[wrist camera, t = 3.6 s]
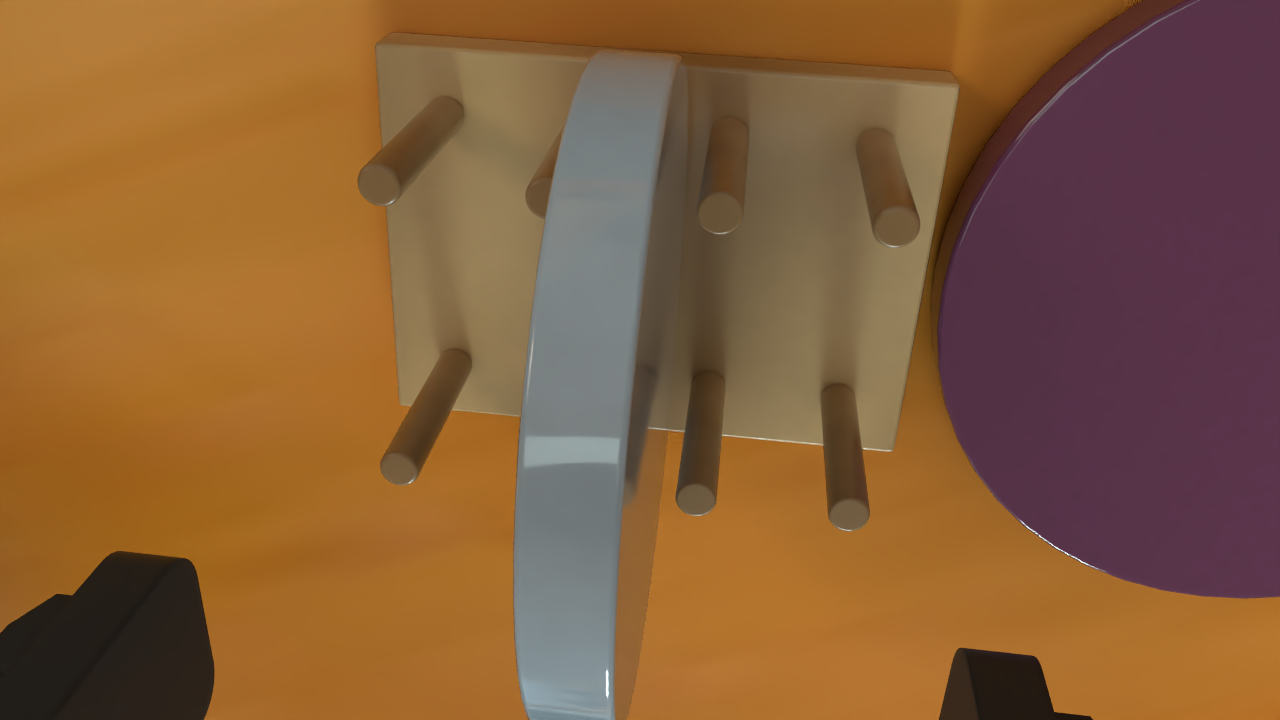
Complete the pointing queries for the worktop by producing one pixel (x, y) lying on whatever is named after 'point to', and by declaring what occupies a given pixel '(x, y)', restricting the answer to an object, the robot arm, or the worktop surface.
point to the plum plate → (1130, 301)
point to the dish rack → (712, 245)
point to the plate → (599, 387)
